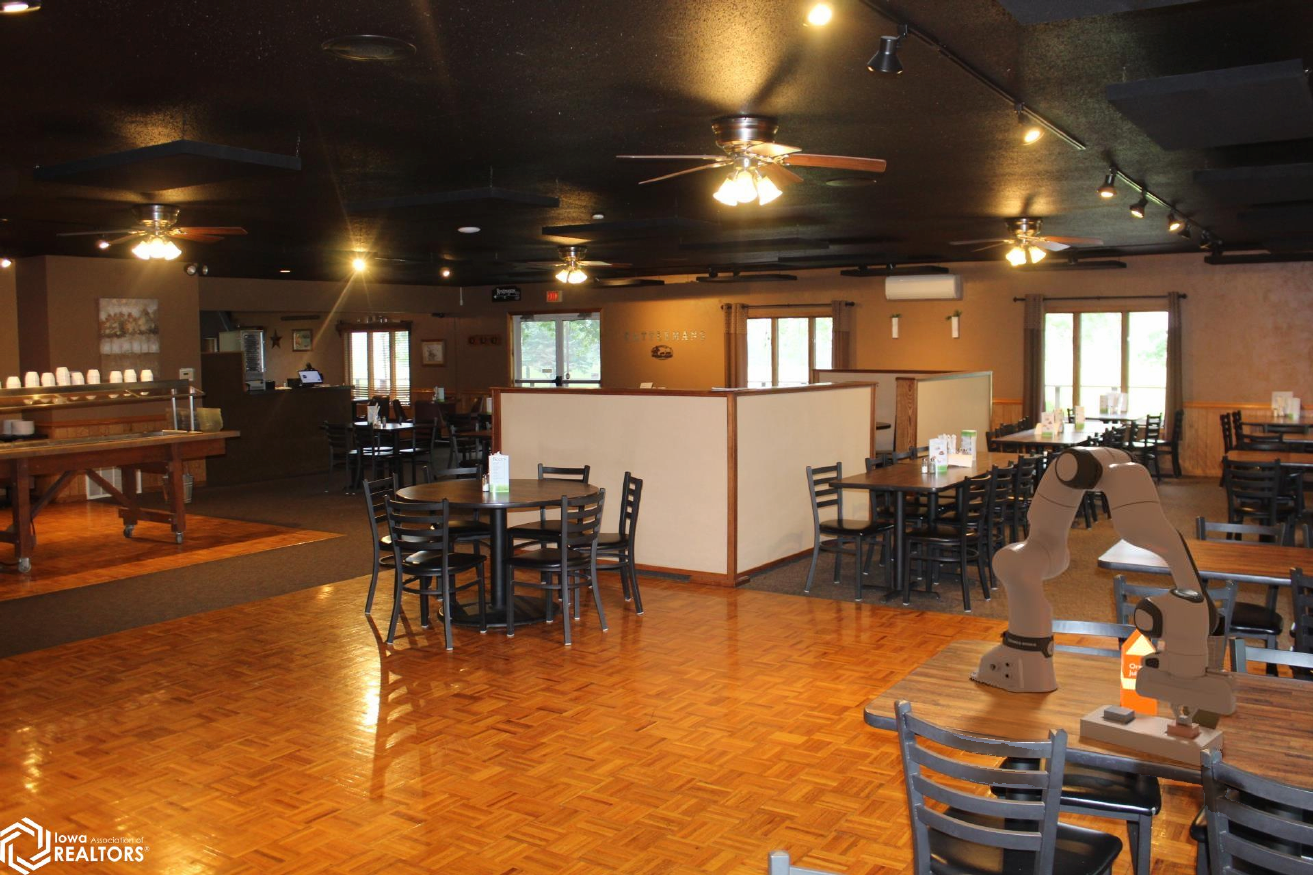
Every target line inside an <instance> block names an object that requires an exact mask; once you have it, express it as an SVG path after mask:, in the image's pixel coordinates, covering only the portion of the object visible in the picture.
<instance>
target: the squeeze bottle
mask: <svg viewBox="0 0 1313 875" xmlns="http://www.w3.org/2000/svg"><path fill="white" fill-rule="evenodd" d="M1208 668H1211V667H1209V664H1208ZM1182 706H1183V705H1182ZM1182 713H1183V714H1182V715H1185V716H1188V715H1189V714H1190V712H1189V711H1188V707H1187V706H1183V707H1182ZM1221 717H1222V714H1220V713H1215V712H1210V711H1206V710H1201V709H1198V711H1197V712H1196V714H1195V715H1194V716H1193V717H1192V723H1195V724H1199V726H1201V727H1205V728H1210V729H1214V730H1217V729H1216V728H1217V727H1218V723H1220V719H1221Z"/></svg>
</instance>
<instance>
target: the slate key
mask: <svg viewBox="0 0 1313 875" xmlns="http://www.w3.org/2000/svg"><path fill="white" fill-rule="evenodd" d="M1109 706H1110V707H1108V708H1107V709H1105V710H1104V719H1108V720H1112V721H1116V722H1121V723H1125V724H1128V723H1129V722H1131V721H1133V720H1134V711H1135V710H1132V709H1128V708H1124V707H1122V706H1118V705H1114V704H1112V705H1109Z"/></svg>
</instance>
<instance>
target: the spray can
mask: <svg viewBox="0 0 1313 875" xmlns="http://www.w3.org/2000/svg"><path fill="white" fill-rule="evenodd" d="M1218 613H1219V623H1218V626H1217V628H1216V630H1215V631H1214V632H1213V633H1212V635H1211V636H1209V637H1208V638H1207V648H1208V664H1209V667H1211V668H1214V669H1218V670H1222V671H1223V670H1224V669H1225V668H1224V664H1225V663H1224V662H1225V658H1224V657H1225V643H1226V642H1225V641H1226V640H1225V639H1226V638H1225V637H1226V616H1225V615H1224V614H1222V613H1220V612H1218Z"/></svg>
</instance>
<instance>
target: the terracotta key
mask: <svg viewBox="0 0 1313 875" xmlns="http://www.w3.org/2000/svg"><path fill="white" fill-rule="evenodd" d="M1172 720H1173V721H1172V722H1170V723H1169V724H1167V734H1171V735H1175V736H1179V737H1184V738H1188V739H1192V740H1193V739H1194V738H1196V737H1197V736H1198V735H1199V724H1195V723H1192V725H1191V726H1185V725H1181V724H1177V723H1176V718H1174V719H1172Z"/></svg>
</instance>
